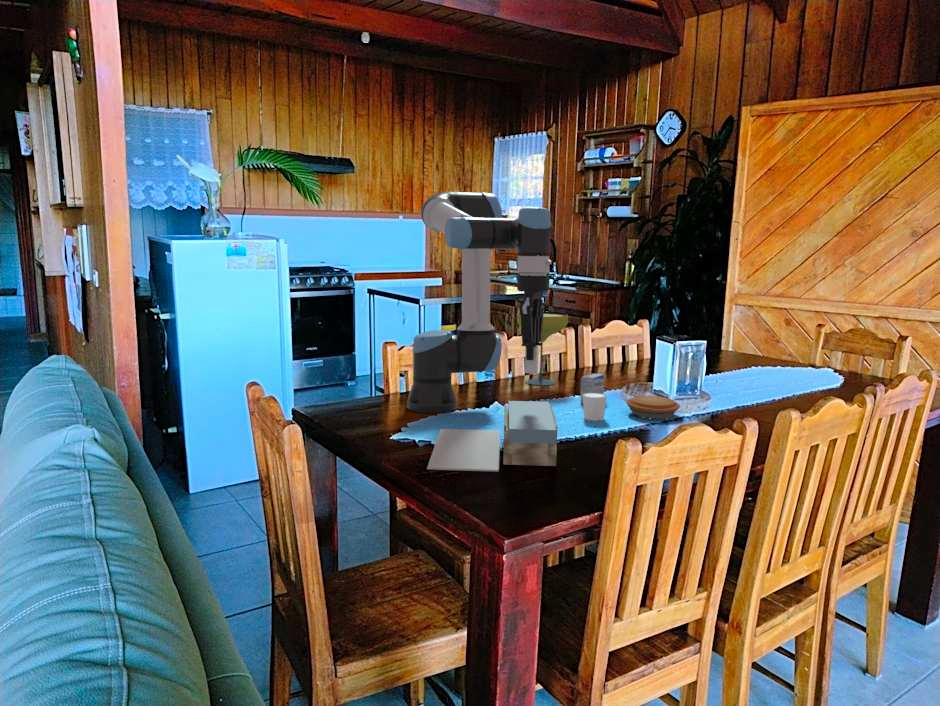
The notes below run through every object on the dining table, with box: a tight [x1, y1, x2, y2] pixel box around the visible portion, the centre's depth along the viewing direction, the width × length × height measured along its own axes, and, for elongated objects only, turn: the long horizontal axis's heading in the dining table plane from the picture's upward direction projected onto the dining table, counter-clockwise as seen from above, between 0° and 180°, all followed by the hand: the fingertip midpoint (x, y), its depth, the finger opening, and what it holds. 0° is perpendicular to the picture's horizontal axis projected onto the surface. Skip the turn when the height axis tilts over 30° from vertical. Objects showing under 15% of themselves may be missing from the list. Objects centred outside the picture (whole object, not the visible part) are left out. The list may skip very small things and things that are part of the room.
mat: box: [426, 428, 501, 473], centre depth 168 cm, size 16×32×1 cm, turn 177°
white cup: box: [582, 393, 608, 422], centre depth 198 cm, size 7×7×7 cm
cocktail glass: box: [516, 311, 569, 387], centre depth 246 cm, size 18×18×25 cm
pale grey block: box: [507, 400, 556, 444], centre depth 159 cm, size 10×26×3 cm, turn 177°
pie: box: [625, 395, 681, 420], centre depth 203 cm, size 15×16×5 cm
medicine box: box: [579, 373, 605, 404], centre depth 219 cm, size 8×4×9 cm, turn 143°
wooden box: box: [502, 404, 558, 467], centre depth 166 cm, size 12×20×9 cm, turn 177°
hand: (531, 372), depth 165 cm, fingers closed
